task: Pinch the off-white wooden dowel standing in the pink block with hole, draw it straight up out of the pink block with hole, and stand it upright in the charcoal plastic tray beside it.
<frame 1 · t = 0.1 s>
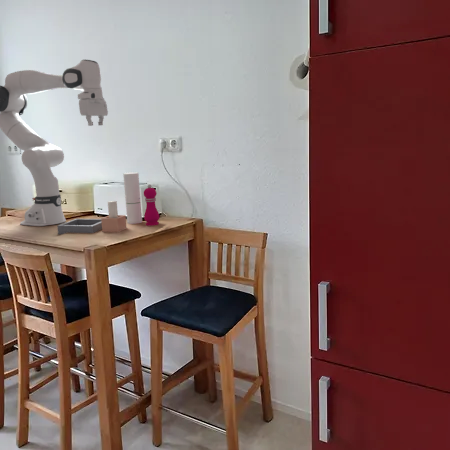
hand: (95, 125, 227), 48 cm above the table, fingers open, 8 cm apart
cylindrical container: (134, 224, 233), on the table
pink block with hole: (114, 231, 217), on the table
pepper mill: (152, 226, 226), on the table
dowel: (114, 229, 217), point 1 cm above the table, touching pink block with hole
tray: (84, 230, 222), on the table
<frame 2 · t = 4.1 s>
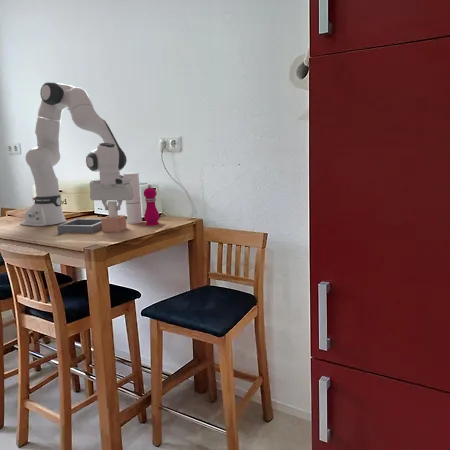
hand: (112, 210, 215), 10 cm above the table, fingers closed on dowel, 4 cm apart
dowel: (114, 229, 217), point 1 cm above the table, touching pink block with hole, gripper
everything else where it was.
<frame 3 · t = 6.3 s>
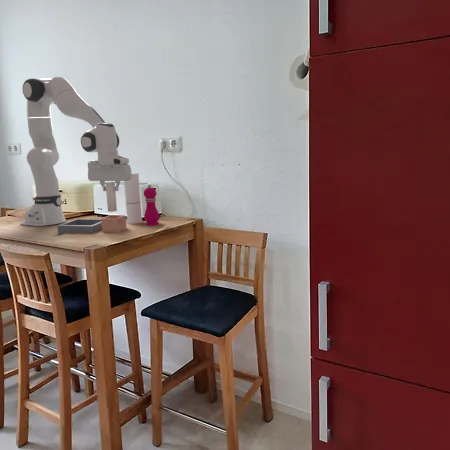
hand: (110, 190, 213), 19 cm above the table, fingers closed on dowel, 4 cm apart
dowel: (112, 210, 215), point 10 cm above the table, touching gripper
everything else where it was.
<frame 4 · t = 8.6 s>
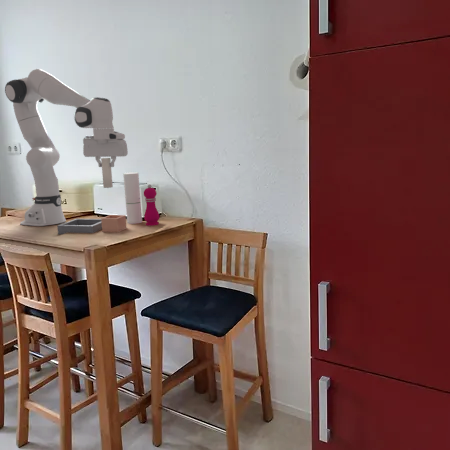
hand: (106, 166, 211), 30 cm above the table, fingers closed on dowel, 4 cm apart
dowel: (108, 187, 213), point 21 cm above the table, touching gripper
everything else where it was.
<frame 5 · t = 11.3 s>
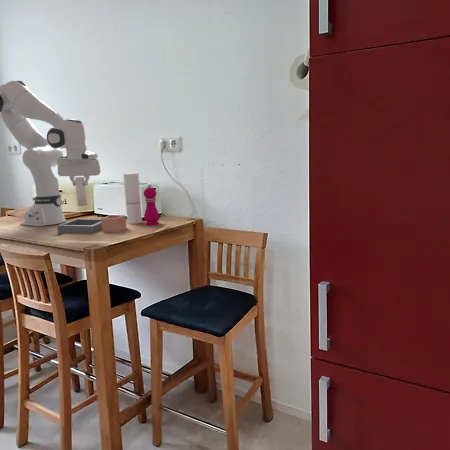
hand: (80, 185, 218), 21 cm above the table, fingers closed on dowel, 4 cm apart
dowel: (82, 205, 220), point 12 cm above the table, touching gripper
everything else where it was.
when the fingers open (12 cm above the table, at t = 13.3 s): dowel drops 2 cm, resting on tray.
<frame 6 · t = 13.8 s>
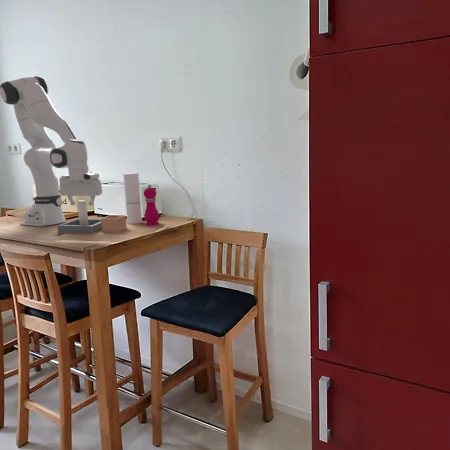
hand: (82, 205, 220), 12 cm above the table, fingers open, 8 cm apart
dowel: (84, 228, 222), point 1 cm above the table, touching tray
everything else where it was.
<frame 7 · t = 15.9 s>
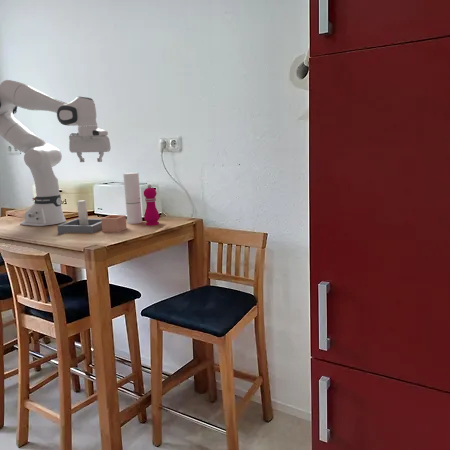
hand: (91, 162, 224), 31 cm above the table, fingers open, 8 cm apart
nothing on the table moved.
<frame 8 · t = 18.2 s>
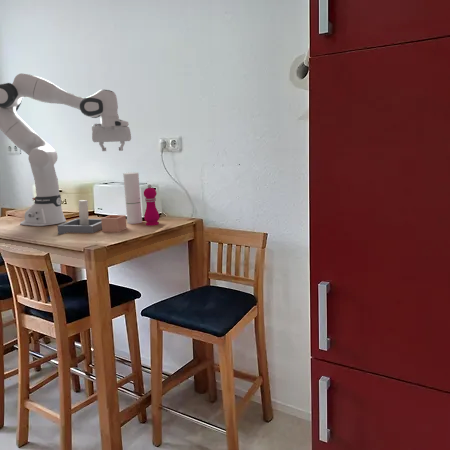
hand: (112, 150, 240), 35 cm above the table, fingers open, 8 cm apart
nothing on the table moved.
at the end: dowel inside the target area on the tray (0.0 cm from its centre), point 1.1 cm above the tray's base; dowel tilted 3°; the gripper is holding nothing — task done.
